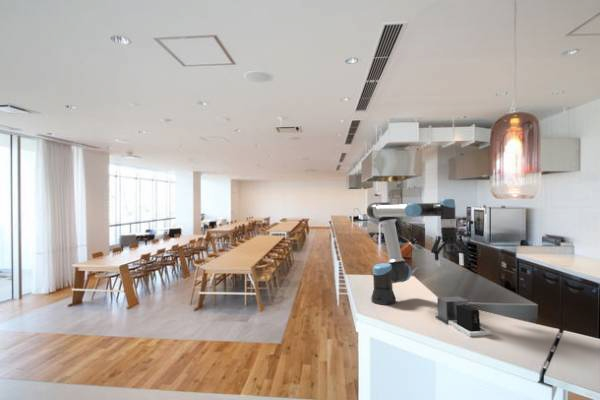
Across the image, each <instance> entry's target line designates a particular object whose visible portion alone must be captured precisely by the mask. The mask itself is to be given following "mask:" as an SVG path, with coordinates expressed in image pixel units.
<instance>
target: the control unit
mask: <svg viewBox="0 0 600 400" xmlns="http://www.w3.org/2000/svg"><path fill="white" fill-rule="evenodd" d="M461 304H465V305H468V306H470V305H469V300H468V299H466V298H464V297H461V296H459V295H458V296H443V297H439V296H438V297H437V315H435V317H434V318H435V319H437V320H439V321H440V322H442V323H443V324H445V325H449V324H448V321H450V320H457V311H456V306H457V305H461Z"/></svg>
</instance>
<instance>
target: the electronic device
mask: <svg viewBox="0 0 600 400" xmlns="http://www.w3.org/2000/svg"><path fill="white" fill-rule="evenodd" d="M456 311H457V325H459V326H461V327H463V328H464V329H466V330H468V331H470V332H475V331H480V326H481V322H480V321H481V320H480V310H479V309H478V308H475V307H472V306H470V305H469V306H468V305H465V304H461V305H457V306H456Z"/></svg>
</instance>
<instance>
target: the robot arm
mask: <svg viewBox="0 0 600 400" xmlns="http://www.w3.org/2000/svg"><path fill="white" fill-rule="evenodd" d="M456 208H457V206H456V202H455V199H454V198H442V199H440V200H439V202H429V203H428V202H427V203H426V202H422V203H421V202H420V203H419V202H418V203H416V202H413V203H397V204H395V203H392V202H388V201H386V202H372V203H370V204H369V205H368V206H367V208H366V214H367V216H368V217H369V218H370V219H372V220H377V221H378V223H379V224H380V225H381V226H382V231H383V236H384V241H385V242H384V243H385V246H386V251H387V255H388V261H387V262H380V263H376V264H374V265H373V267H372V270H373V271H372V276H373V279H372V280H373V289H372V294H371V297H370V299H371V300H370V301H371V303H374V304H377V305H383V306H384V305H385V306H386V305H387V306H388V305H394V304H396V302H397V300H396V299H397V298H396V295H395V292H394V289H393V284H397V283H404V282H407V281H409V280H410V278H411V277H412V267H411V266H410V265H409V264H408V263H406V259H404V258H403V256H402V251H401V246H400V242H399V236H398V232H397V228H396V222H397V217H398V218H399V217H405V218H406V217H407V218H410V217H411V218H417V217H440V226H441V228H440V233H441V236H440V235H436V237H435V242H434V244H433V246H432V248H431V251H430V252H431V254H433V255H434V260H435V263H436V265H435V266H436V267H439V268H440V267H442V266H441V265H442V264H441V251H442V250H443V249H444V247H446V245H450V244H451V245H453V246H454V247H455V248H456V249H457V250H458V251H459V253H458V258H459V260H458V261H459V266H462V267H463V266H464V265H465V259H466V258H465V257H466V256H465V254H466V253H468V252H469V250H468V248H467V246H466V243H465V242H464V240H463V236H462V235H460V234H457V227H456V226H457V220H456V219H457V217H456Z"/></svg>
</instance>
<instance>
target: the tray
mask: <svg viewBox="0 0 600 400" xmlns="http://www.w3.org/2000/svg"><path fill="white" fill-rule="evenodd" d="M447 325H449V326H451V327H453V328H454V329H456V331H457V330H458V332H461V333H463V334H464V335H466V336H467V337H469V338H473V337H474V338H475V336H476V337H486V336H485V335H489V336H491V331H490V330H489V329H486V328H484V327H482V326H481V325H480V331H475V332H470V331H468V330H466V329H464V328H463V327H461V326H459V325H457V320H450V321H448V324H447Z"/></svg>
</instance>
